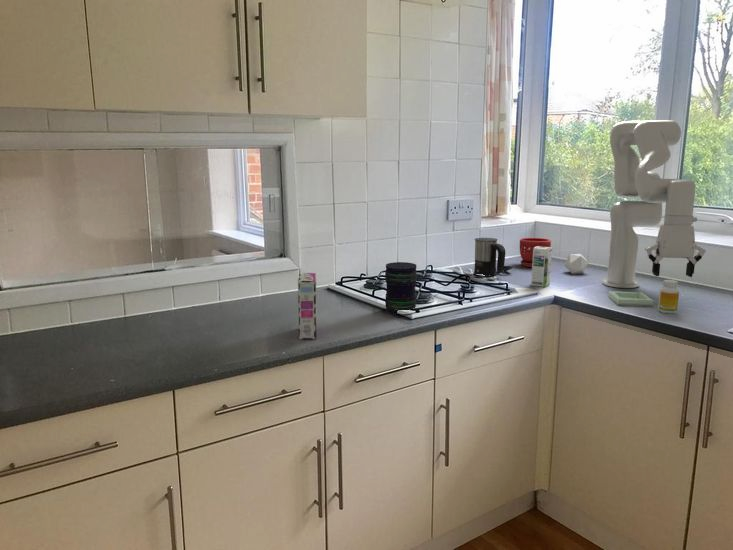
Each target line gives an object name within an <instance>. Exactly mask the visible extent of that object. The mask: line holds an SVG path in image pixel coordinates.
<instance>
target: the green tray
mask: <svg viewBox="0 0 733 550" xmlns="http://www.w3.org/2000/svg"><path fill="white" fill-rule="evenodd" d="M607 296H608V298H609V299H610V300H611V301H612V302H613V303H614V304H615V305H616V306H632V307H653V306H654V299H652V298H650V297H649V296H648V295H646V293H644V292H642V291H608V295H607Z"/></svg>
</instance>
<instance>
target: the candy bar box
mask: <svg viewBox="0 0 733 550" xmlns="http://www.w3.org/2000/svg"><path fill="white" fill-rule="evenodd" d="M298 274H299V275H298V280H297V286H298V287H297V289H298V290H297V291H298V292H297V293H298V295H297V296H298V297H297V298H298V340H301V341H302V340H307V341H308V340H309V341H310V340H317V330H318V329H317V328H318V327H317V326H318V323H317V322H318V319H317V317H318V316H317V315H318V310H317V309H318V308H317V307H318V305H317V303H318V300H317V276H316V275H317V274H316V272H302V273H301V272H300V273H298Z"/></svg>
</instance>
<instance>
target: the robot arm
mask: <svg viewBox="0 0 733 550" xmlns="http://www.w3.org/2000/svg"><path fill="white" fill-rule="evenodd" d="M681 137H682V130H681V126H680V125H679V123H678V122H676V121H675V120H672V119H670V120H669V119H668V120H666V119H665V120H664V119H662V120H661V119H660V120H659V119H657V120H655V119H654V120H653V119H652V120H651V119H650V120H627V121H621V122H617V123H616V124H614V125H613V127H612V129H611V132H610V136H609V144H610V145H609V146H610V150H611V152H612V155H613V160H614V162H613V164H614V169H613V170H614V171H613V172H614V180H613V181H614V184H613V185H614V192H615V195H617V196H618V197H621V198H640V200H621V201H617V202H615V203H614V204H612V205H611V207H610V211H609V212H610V213H609V215H610V217H609V218H610V231H611V232H610V242H609V253H608V254H609V256H608V266H607V277H606V278H603V279H602V282H601V283H602V284H603V285H604V286H608V287H612V288H620V289H633V288H638V287H639V284H640V283H639V282H638V281H636V280H635V279H636V271H637V270H636V269H637V261H638V259H637V258H638V252H639V251H638V249H639V236H638V235H637V233H636V232H635V230H634V228H639V227H640V228H643V227H644V228H647V227H648V228H652V227H656V226H658V225H659V224H660V223H661V221H662V217H663V204H664V203H665V210H664V217H663V219H664V220H663V224H660V226H659V230H658V234H657V236H656V243H655V244H652V245H650V246H649V247H646V248H645V249H644V251H645V253H646V255H647V258H648V259H649V260H650V261H651V262H652V268H651V269H652V270H651V272H652V274H653V275H654V276H655V277H660V272H661V271H660V270H661V264H660V262H661V261H662V260H663V259H664V258H665V259H686V260H687V263H686V268H685V276H687V277H689V278H692V277H693V275H694V274H695V266H696V265H697V264H698V262H699V261H700V260H702V258H703V256H704V255H705V253H706V251H707V250H706V249H705V248H702V247H700V246H698V245H697V244H695V243H696V234H695V233H696V232H695V227H694V225H693V223H695V222H697V221H698V217H694V215H693V213H694V207H695V197H696V190H697V189H696V186H697V185H696V182H695V181H694V180H690V179H689V180H687V179H685V180H684V179H682V178H661V176H660V174H659V173H658V172H655V171H653V170H656V169H658V168H660V167H662V166H664V165H665V164H666V163H667V162H669V160H670V158H671V151H670V148H669V147H670V146H671V147H672V146H674V145H677V144H678V143H679V141H680V139H681ZM632 146H637V150H638V152H639V154H640V157H639V155H638V153H637V152H636V150H635V149H634V148H633V147H632ZM640 158H641V161H640ZM695 250H696V251H697V254H696V255H695V256H694V254H695ZM653 251H654V253H655V256H654V255H653V253H652V252H653Z"/></svg>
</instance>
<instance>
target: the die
mask: <svg viewBox="0 0 733 550" xmlns="http://www.w3.org/2000/svg"><path fill="white" fill-rule="evenodd" d="M588 265H589V261H588V260H587V259H586V258H585V257H584V256H583V255H582V254H581V253H575V254H573V253H572V254H569V255H568V256H567V258H566V261H565V263H564V267H565V268H566V269H567V270H568V271H569V272H570V273H571V274H572V275H576V274H577V275H578V274H584V273H585V271H586V269H587V266H588Z"/></svg>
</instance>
